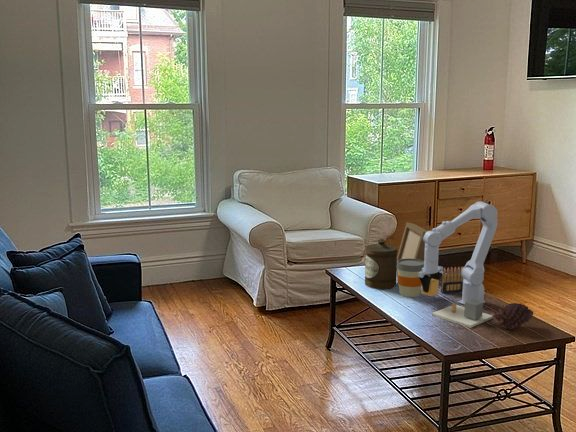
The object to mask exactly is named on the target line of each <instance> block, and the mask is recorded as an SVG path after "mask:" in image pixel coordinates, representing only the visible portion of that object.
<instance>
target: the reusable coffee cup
mask: <svg viewBox="0 0 576 432" xmlns="http://www.w3.org/2000/svg"><path fill="white" fill-rule="evenodd" d="M422 268H424V261H422V260H418V259H410V258H407V259H400V260H398V261H397V278H396V282H397V284H398V290H399V291H398V292H399V295H400V296H401V297H402V296H403V297H405V298H417V297H420V296H421V295H420V294H421V288H422V283H421V281H420V279H419V277H418V272H420V271H422Z"/></svg>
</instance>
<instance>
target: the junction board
mask: <svg viewBox="0 0 576 432" xmlns="http://www.w3.org/2000/svg"><path fill="white" fill-rule="evenodd" d="M483 310H484V303H483V302H480V301H476V300H469V301H467V302H465V305H464V306H461V305H458V304H457V302H452V303H451V305H449V306H447V307H444V308H442V309H439V310H436V311H434V312H431V316H432V317H434V318H435V317H436V318H439V319H442V320H444V321H448V322H451V323H455V324H457V325H461V326H463V327H467V328H469V329H472V328H473V327H476V326H478V325H481V324H483V323H485V322H488V321H489V320H492V319H494V317H493V316H494V315H491V314H488V313H485V312H483Z"/></svg>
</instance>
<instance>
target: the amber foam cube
mask: <svg viewBox="0 0 576 432" xmlns="http://www.w3.org/2000/svg"><path fill="white" fill-rule="evenodd" d="M439 282H440V280H436V279H431V282H430V285H429V291H428V292H424V291H423V287H422V286H421V290H420V294H422V295H425V296H429V297H433V296H437V295H439Z"/></svg>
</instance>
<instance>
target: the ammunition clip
mask: <svg viewBox="0 0 576 432" xmlns="http://www.w3.org/2000/svg"><path fill="white" fill-rule="evenodd" d="M463 268H464V266H461V267H460V266H458V267H457V266H454V268H453V267H452V266H451V267H447V269H446V267H443V271H442V276H441V279H442V280H441V284H440V285H441V286H440V293H441V294H443V295H444V294H453V293H454V294H455V293H462V292H463V277H462V276H461V271H462V269H463Z"/></svg>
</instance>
